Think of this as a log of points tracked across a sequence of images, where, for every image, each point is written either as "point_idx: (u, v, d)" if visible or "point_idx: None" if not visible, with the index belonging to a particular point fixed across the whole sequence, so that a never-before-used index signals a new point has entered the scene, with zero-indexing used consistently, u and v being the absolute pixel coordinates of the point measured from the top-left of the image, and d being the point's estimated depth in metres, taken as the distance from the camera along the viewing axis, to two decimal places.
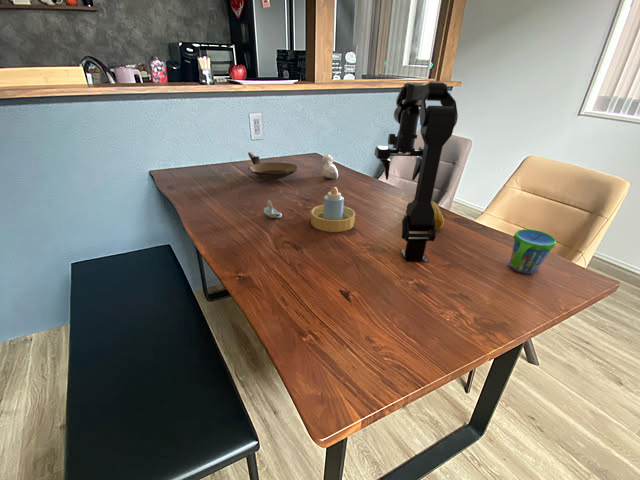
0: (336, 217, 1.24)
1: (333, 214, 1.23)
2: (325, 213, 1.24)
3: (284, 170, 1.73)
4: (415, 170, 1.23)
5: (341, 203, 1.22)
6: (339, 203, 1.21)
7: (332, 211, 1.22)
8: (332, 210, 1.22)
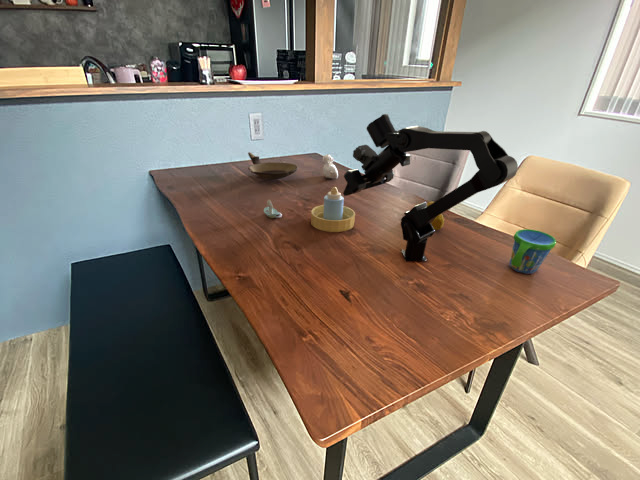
0: (336, 217, 1.24)
1: (333, 214, 1.23)
2: (325, 213, 1.24)
3: (284, 170, 1.73)
4: (369, 184, 1.17)
5: (341, 203, 1.22)
6: (339, 203, 1.21)
7: (332, 211, 1.22)
8: (332, 210, 1.22)
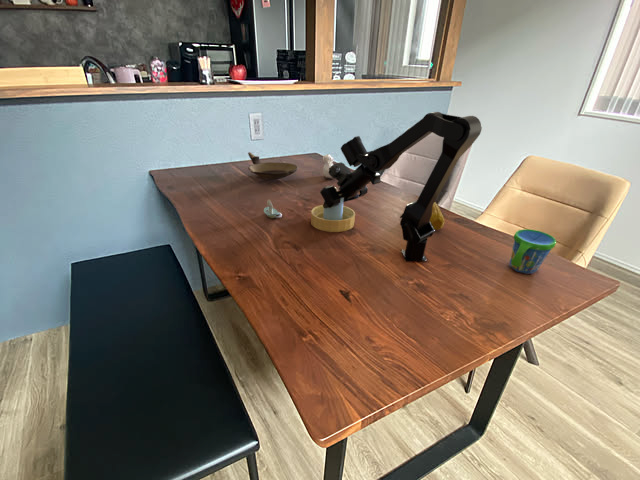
0: (336, 217, 1.24)
1: (333, 214, 1.23)
2: (325, 213, 1.24)
3: (284, 170, 1.73)
4: None
5: (341, 203, 1.22)
6: (339, 203, 1.21)
7: (332, 211, 1.22)
8: (332, 210, 1.22)
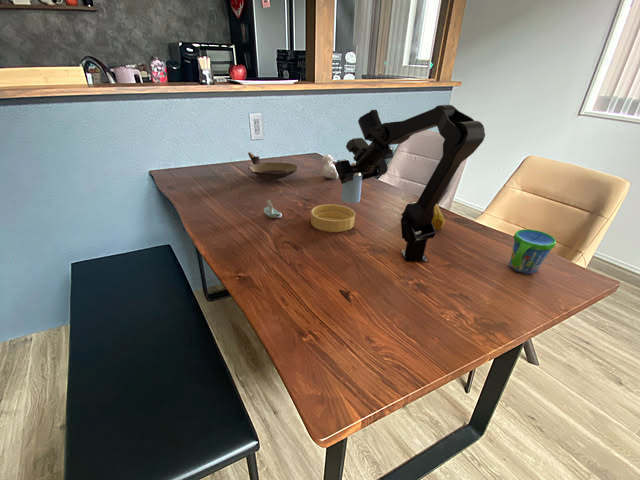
0: (352, 193, 1.24)
1: (349, 189, 1.24)
2: (342, 189, 1.26)
3: (284, 170, 1.73)
4: (363, 176, 1.25)
5: (358, 179, 1.22)
6: (356, 179, 1.22)
7: (348, 187, 1.23)
8: (349, 186, 1.23)
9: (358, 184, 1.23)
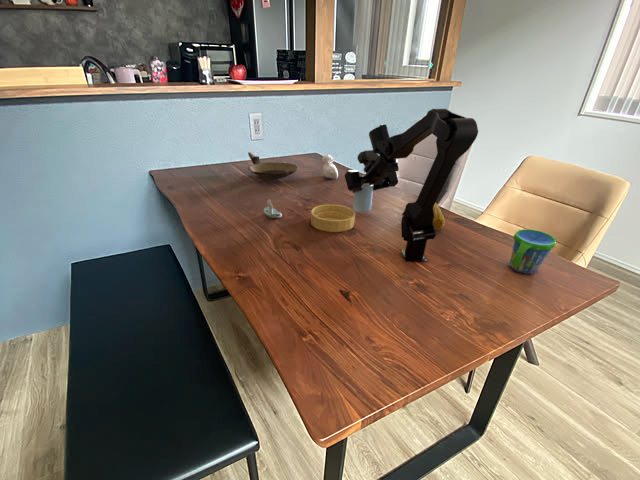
0: (362, 202, 1.29)
1: (359, 199, 1.29)
2: (354, 198, 1.31)
3: (284, 170, 1.73)
4: (374, 186, 1.29)
5: (369, 190, 1.27)
6: (366, 189, 1.26)
7: (359, 196, 1.28)
8: (359, 195, 1.28)
9: (368, 194, 1.28)
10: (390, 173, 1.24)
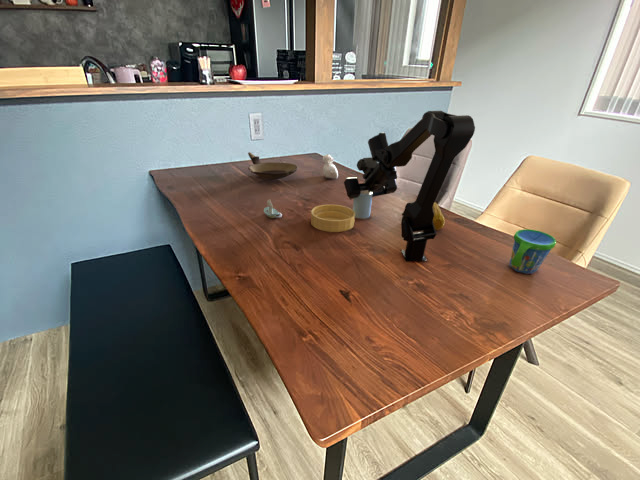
0: (361, 210, 1.31)
1: (359, 207, 1.30)
2: (353, 206, 1.33)
3: (284, 170, 1.73)
4: (376, 192, 1.31)
5: (368, 198, 1.29)
6: (365, 197, 1.28)
7: (358, 204, 1.30)
8: (358, 204, 1.30)
9: (367, 202, 1.30)
10: (389, 180, 1.25)
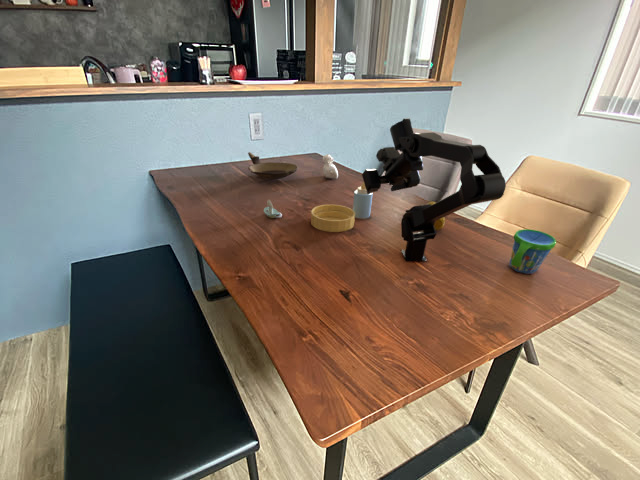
0: (361, 210, 1.31)
1: (359, 207, 1.30)
2: (353, 206, 1.33)
3: (284, 170, 1.73)
4: (396, 186, 1.19)
5: (368, 198, 1.29)
6: (365, 197, 1.28)
7: (358, 204, 1.30)
8: (358, 204, 1.30)
9: (367, 202, 1.30)
10: (411, 172, 1.13)
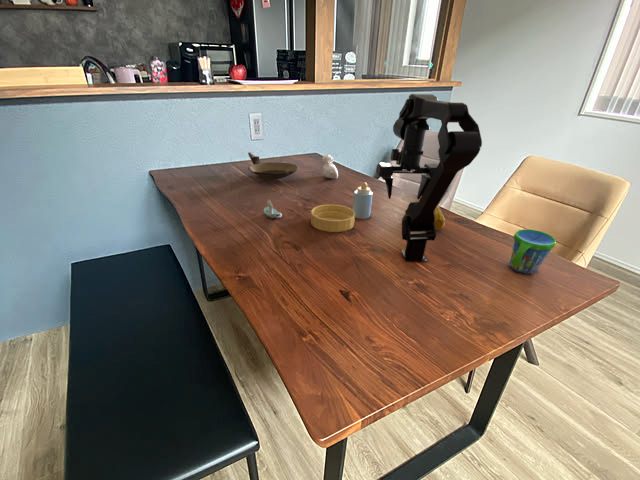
0: (361, 210, 1.31)
1: (359, 207, 1.30)
2: (353, 206, 1.33)
3: (284, 170, 1.73)
4: (420, 188, 1.12)
5: (368, 198, 1.29)
6: (365, 197, 1.28)
7: (358, 204, 1.30)
8: (358, 204, 1.30)
9: (367, 202, 1.30)
10: (430, 165, 1.09)
